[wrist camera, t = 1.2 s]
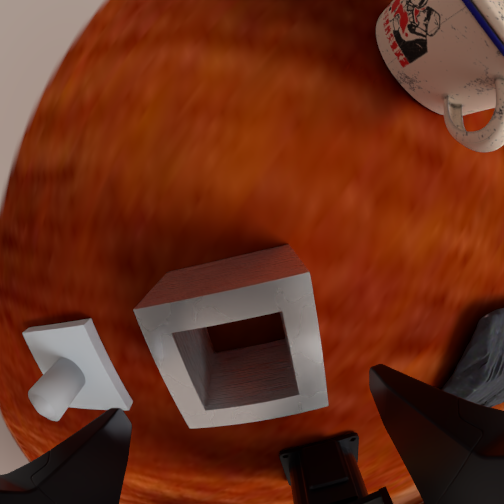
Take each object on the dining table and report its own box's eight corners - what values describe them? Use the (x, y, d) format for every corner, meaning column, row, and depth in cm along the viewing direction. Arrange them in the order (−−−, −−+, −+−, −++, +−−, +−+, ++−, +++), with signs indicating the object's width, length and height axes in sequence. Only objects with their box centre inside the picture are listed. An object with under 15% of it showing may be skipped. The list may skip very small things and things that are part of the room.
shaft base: (133, 401, 17) (107, 456, 11) (68, 399, 17) (38, 441, 11) (91, 318, 15) (43, 363, 10) (29, 327, 15) (-15, 361, 10)
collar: (308, 350, 16) (328, 405, 11) (202, 371, 16) (189, 428, 11) (288, 244, 14) (309, 272, 9) (167, 272, 15) (133, 309, 10)
